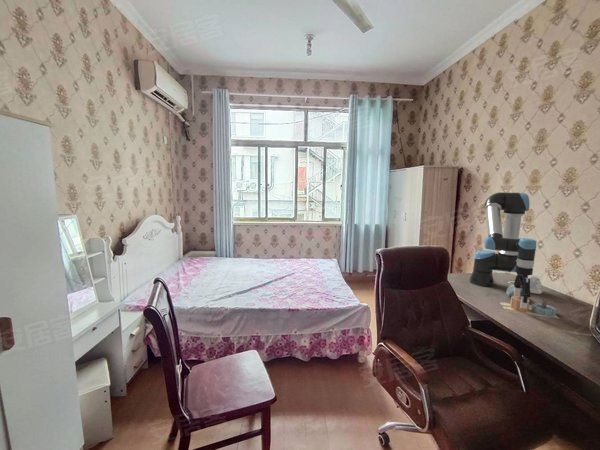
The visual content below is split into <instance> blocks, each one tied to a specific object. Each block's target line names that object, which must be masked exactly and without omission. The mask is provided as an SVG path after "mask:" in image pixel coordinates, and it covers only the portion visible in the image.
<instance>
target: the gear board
mask: <svg viewBox="0 0 600 450" xmlns="http://www.w3.org/2000/svg"><path fill="white" fill-rule="evenodd" d="M521 298H522V297H521V296H519V298H518V299H520V300H521ZM499 303H500V305H501V306H502V308H503V310H504V311H505V312H508V313H509V312H510V313H516V314H523V315H528V316H533V317H534V316H535V317H541V318H547V319H548V318H549V319H555V320H560V317H558V316H557V315H555V316H544V315H541V314H537V313H535V312H534V311H532V310H531V307H532V305H529V309H528V312H521V311H517V310H514V309H512V308H511V307H510V303H511V302H503V301H499ZM547 303H548V300H547V299H542V303H541V304H542V307H544V308H546V305H548V304H547Z"/></svg>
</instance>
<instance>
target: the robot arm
mask: <svg viewBox="0 0 600 450" xmlns="http://www.w3.org/2000/svg"><path fill="white" fill-rule="evenodd" d="M530 205H531V203H530V197H529V195H528V194H527V193H525V192H501V191H500V192H496V193H493V194H491V195H489V197H488V198H487V199H486V200H485V202H484V205H483V209H484V212H485V213H486V224H487V225H486V226H487V236H485V238H484V241H483V242H484V248H485V250H483V249H482V250H477V251H476V252H475V253H474V258H473V259H474V261H473V269H472V272H471V275H470V277H469V280H468V281H469V282H470V283H471V284H473V285H475V286H480V287H481V286H482V287H494V286H495V278H494V276H493V272H494V271H498V272H507V273H516V276H515V279H514V282H513V285H515V290H514V296H520V291H521V289H520V288H522V294H523V295H521V296H522V298H521V306H520V307H521V308H526V309H527V303H528V299H529V298H531V292H530V279H529V276H532V275H533V271H534V266H535V265H534V264H535V258H536V257H535V256H536V250H537V240H535V239H534V238H533V239H532V238H525V237H522V238H521V237H520V229H521V224H522V223H521V222H522V217H523V216H524V215H525V214H526V212H528V211H529V210H530ZM501 211H503V214H504V215H505V217H504V218H505V219H504V227H503V226H502V225H503V224H502V217H501ZM495 251H498V253H496V252H495Z"/></svg>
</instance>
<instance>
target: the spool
mask: <svg viewBox="0 0 600 450" xmlns="http://www.w3.org/2000/svg"><path fill="white" fill-rule="evenodd" d="M520 289H521V291H520V296H521V295H523V294H522V288H520ZM514 290H515V285H514V284H510V285H509V286H508V287H507V289H506V295H507V297H508V298H510V299H511V297H512V296H514ZM521 297H522V296H521Z"/></svg>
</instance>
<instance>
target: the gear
mask: <svg viewBox="0 0 600 450" xmlns="http://www.w3.org/2000/svg"><path fill="white" fill-rule="evenodd" d="M531 306H532V307H531V310H532V311H534V312H535V313H537V314H541V315H544V316H555V315H556V314H557V308H556V307H553V306H552V305H549V304H547V305H546V308H544V307H542V303H538V302H537V303H532V304H531ZM556 316H557V315H556Z"/></svg>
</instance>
